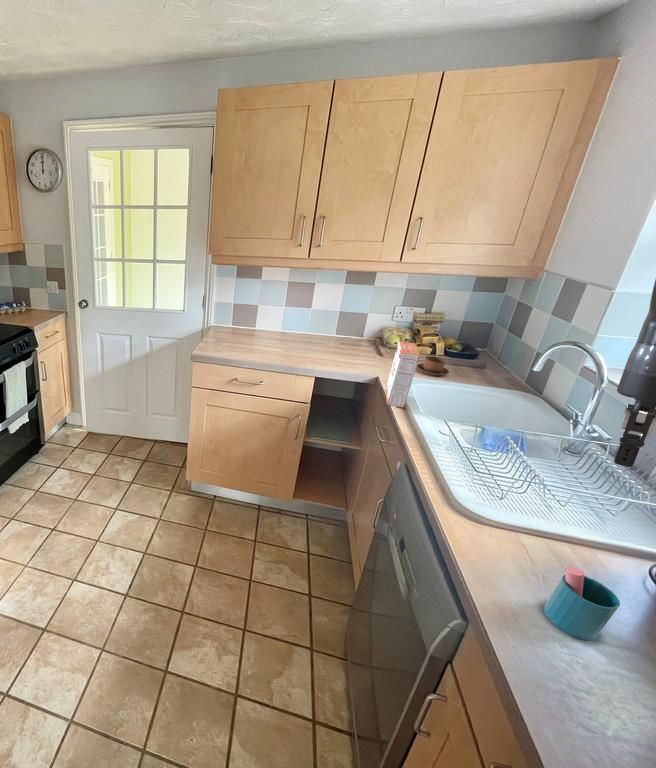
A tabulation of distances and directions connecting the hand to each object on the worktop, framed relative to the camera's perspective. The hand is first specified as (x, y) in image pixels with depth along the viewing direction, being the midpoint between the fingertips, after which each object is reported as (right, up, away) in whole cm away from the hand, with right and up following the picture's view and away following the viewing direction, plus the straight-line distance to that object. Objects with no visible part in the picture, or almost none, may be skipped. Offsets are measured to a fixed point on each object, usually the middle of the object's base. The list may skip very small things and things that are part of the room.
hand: (624, 458), depth 74 cm
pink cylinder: (-9, -29, +1) cm, 30 cm away
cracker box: (+8, +7, +83) cm, 83 cm away
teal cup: (-9, -30, +1) cm, 31 cm away
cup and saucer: (+40, +18, +108) cm, 117 cm away
